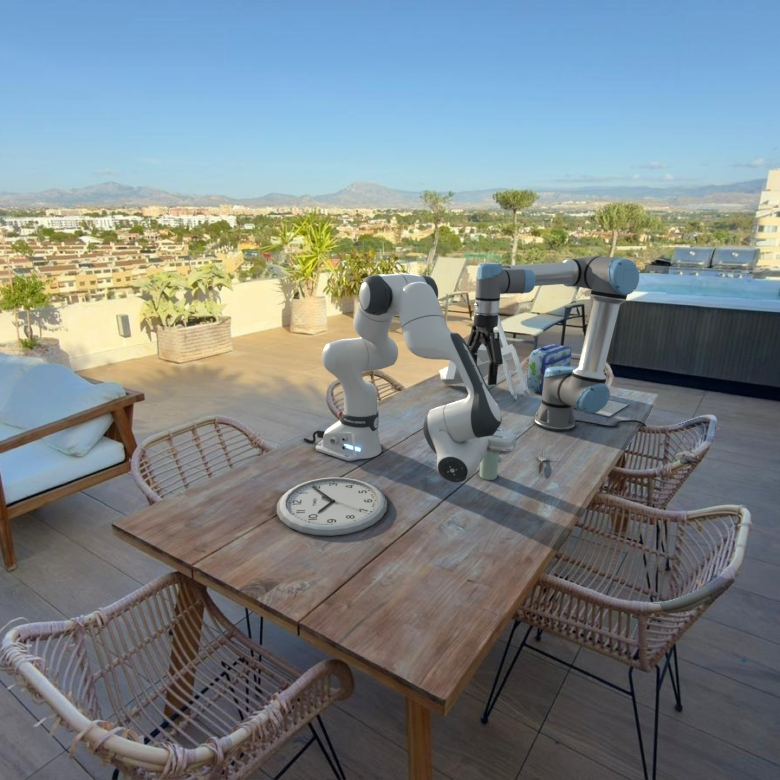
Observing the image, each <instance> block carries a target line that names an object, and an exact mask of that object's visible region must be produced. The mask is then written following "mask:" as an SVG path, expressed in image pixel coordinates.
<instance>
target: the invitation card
mask: <svg viewBox="0 0 780 780" xmlns="http://www.w3.org/2000/svg"><path fill="white" fill-rule="evenodd" d="M628 406H629V404H627V403H623V402H618V401H614V400H610V399H609V400H608V402H607V404H606V405H605V406H604V407H603V408H602V409H601V410H600V411H598V412H596V413H595V414H596V415H600V416H604V417H608V418H609V417H611V416H613V415H614V414H616V413H617V412H619V411H621V410H623V409H624V408H626V407H628Z"/></svg>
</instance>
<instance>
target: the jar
mask: <svg viewBox="0 0 780 780" xmlns="http://www.w3.org/2000/svg"><path fill="white" fill-rule="evenodd" d="M499 457H500V454H497V453H492V452H487V453H486V455H485V457H484V458H483V460H482V461H481V462H480V464H479V477H480V478H481V479H483V480H487V481H494V480H496V479H497V478H498V469H499V459H500V458H499Z"/></svg>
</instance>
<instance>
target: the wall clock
mask: <svg viewBox="0 0 780 780" xmlns="http://www.w3.org/2000/svg"><path fill="white" fill-rule="evenodd" d="M387 509H388V500H387V498H386V496H385V494H384V493H383V492H382V491H381V490H380V489H379V488H377V487H376V486H374V485H372V484H371V483H369V482H365V481H362V480H359V479H355V478H349V477H338V476H337V477H335V476H333V477H332V476H331V477H322V478H317V479H312V480H307V481H305V482H302V483H299V484H297V485H295V486H293V487H292V488H290V489H288V490H287V491H286V492H285V493H284V494H283V495H281V496H280V498H279V499H278V502H277V503H276V515H277V517H278V518H279V520H280V521H281V522H282V523H283V524H285V525H286V526H287V527H288V528H290V529H293V530H295V531H297V532H299V533H303V534H308V535H312V536H327V537H328V536H329V537H331V536H332V537H333V536H342V535H350V534H352V533H356V532H361V531H363V530H366V529H368V528H369V527H372V526H373V525H375V524H376V523H378V522H379V521H380V520H381V519H382V518H383V517H384V516H385V514H386V512H387Z"/></svg>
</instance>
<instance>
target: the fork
mask: <svg viewBox="0 0 780 780" xmlns="http://www.w3.org/2000/svg"><path fill="white" fill-rule="evenodd" d="M547 458H548V451H546V450H544V449H542V451H541V449H540V450H539V454H538V460H539V461H540V463H539V464H538V474H541V472H542V469H543V467H544V465H543V464H544V463H543V462H544V461H546V460H547Z"/></svg>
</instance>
